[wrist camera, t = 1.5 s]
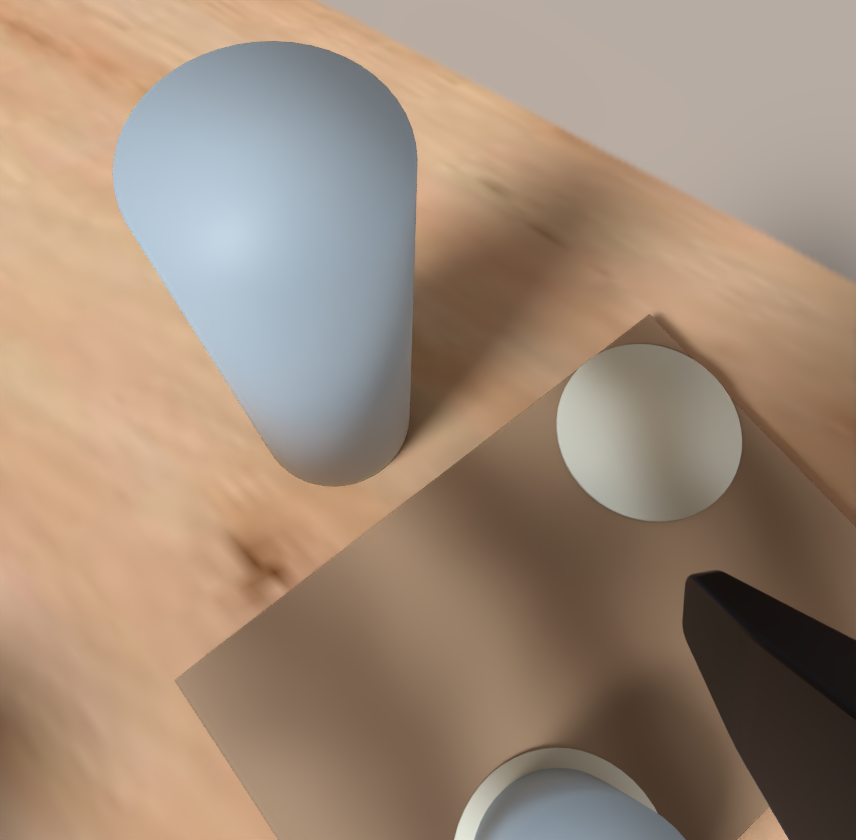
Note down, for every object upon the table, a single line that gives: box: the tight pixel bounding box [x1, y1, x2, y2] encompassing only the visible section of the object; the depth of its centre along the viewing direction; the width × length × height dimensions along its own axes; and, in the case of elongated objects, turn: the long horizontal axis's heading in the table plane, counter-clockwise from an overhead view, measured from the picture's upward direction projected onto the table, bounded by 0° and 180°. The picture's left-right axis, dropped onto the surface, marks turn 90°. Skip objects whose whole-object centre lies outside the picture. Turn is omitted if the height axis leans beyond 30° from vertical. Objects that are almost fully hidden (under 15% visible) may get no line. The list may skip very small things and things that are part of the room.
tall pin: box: [113, 41, 417, 486], centre depth 18 cm, size 5×5×13 cm
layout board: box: [175, 314, 856, 840], centre depth 21 cm, size 19×14×1 cm
